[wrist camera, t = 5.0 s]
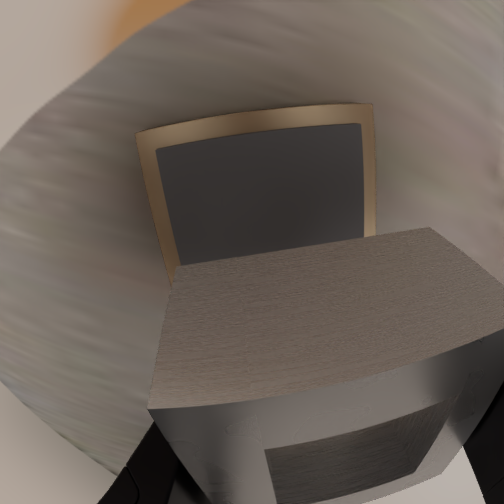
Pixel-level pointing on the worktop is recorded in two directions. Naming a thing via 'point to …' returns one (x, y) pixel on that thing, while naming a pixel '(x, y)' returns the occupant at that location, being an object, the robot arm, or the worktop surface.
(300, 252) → the collar
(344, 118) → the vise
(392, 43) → the worktop surface
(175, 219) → the mat
